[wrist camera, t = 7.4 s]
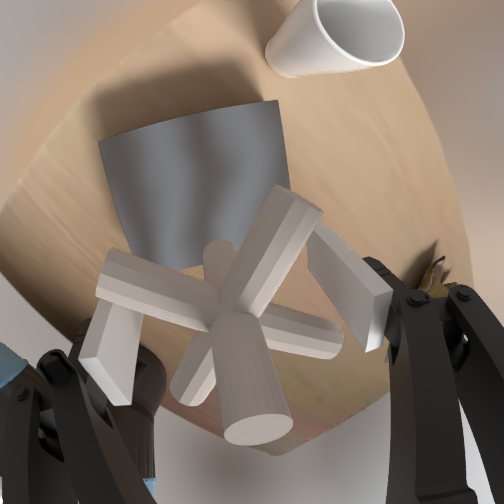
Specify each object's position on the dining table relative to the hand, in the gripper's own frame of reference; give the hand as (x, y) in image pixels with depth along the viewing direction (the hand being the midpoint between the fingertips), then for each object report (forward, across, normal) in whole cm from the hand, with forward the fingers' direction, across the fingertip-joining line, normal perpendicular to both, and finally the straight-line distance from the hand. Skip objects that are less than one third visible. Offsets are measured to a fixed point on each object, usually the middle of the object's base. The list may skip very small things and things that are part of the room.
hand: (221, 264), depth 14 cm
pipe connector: (+1, 0, 0) cm, 1 cm away
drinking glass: (+18, +11, +13) cm, 24 cm away
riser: (+17, 0, 0) cm, 17 cm away
